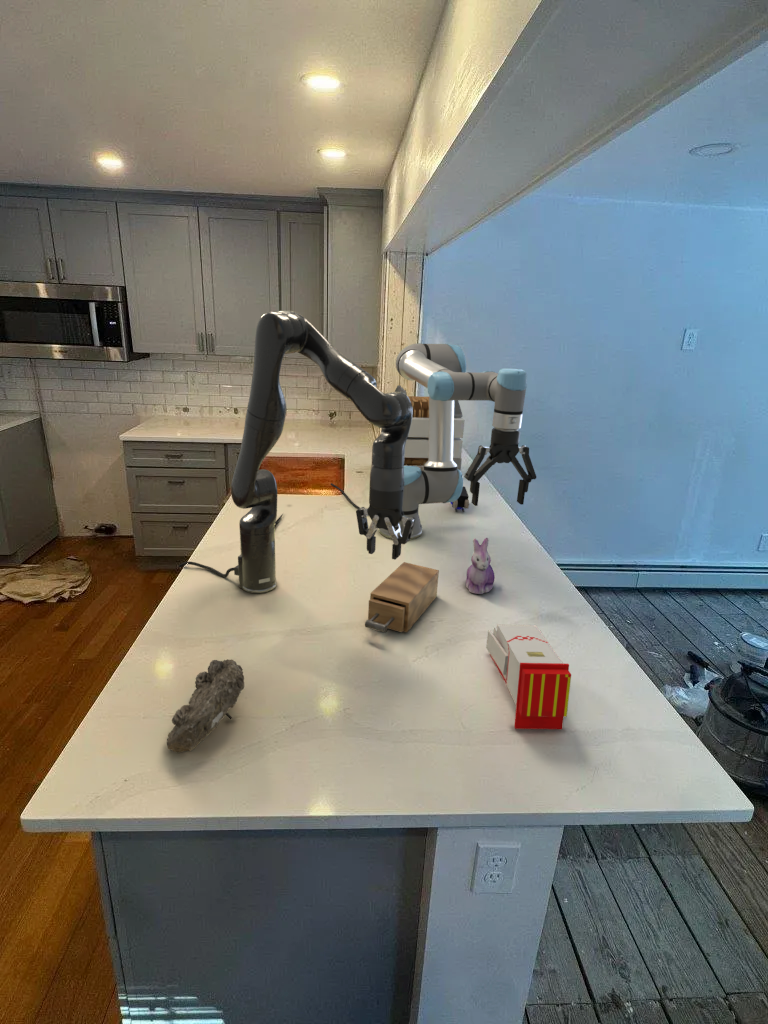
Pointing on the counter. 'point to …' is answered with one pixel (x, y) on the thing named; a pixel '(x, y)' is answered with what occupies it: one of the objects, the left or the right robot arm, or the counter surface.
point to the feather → (278, 520)
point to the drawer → (385, 615)
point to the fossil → (206, 705)
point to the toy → (531, 675)
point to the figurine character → (461, 501)
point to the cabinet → (409, 590)
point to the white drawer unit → (420, 432)
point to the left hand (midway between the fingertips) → (383, 555)
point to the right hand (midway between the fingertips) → (497, 503)
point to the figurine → (480, 569)
